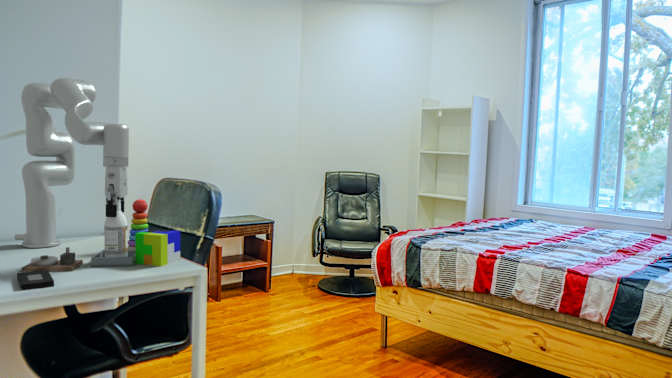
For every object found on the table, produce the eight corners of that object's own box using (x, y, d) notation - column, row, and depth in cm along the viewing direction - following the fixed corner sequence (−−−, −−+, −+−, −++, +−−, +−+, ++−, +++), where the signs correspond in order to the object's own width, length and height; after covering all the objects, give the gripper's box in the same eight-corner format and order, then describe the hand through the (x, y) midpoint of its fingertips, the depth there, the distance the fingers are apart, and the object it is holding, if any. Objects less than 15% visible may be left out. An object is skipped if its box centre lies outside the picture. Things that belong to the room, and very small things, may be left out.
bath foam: (127, 261, 163) (126, 200, 162) (103, 262, 161) (102, 200, 160) (128, 257, 170) (128, 198, 168) (105, 258, 168) (105, 198, 166)
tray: (91, 266, 158) (91, 257, 158) (102, 258, 170) (102, 250, 170) (132, 266, 161) (132, 257, 160) (140, 257, 173) (140, 249, 172)
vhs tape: (47, 276, 147) (47, 269, 147) (54, 288, 136) (54, 280, 136) (17, 279, 143) (17, 272, 143) (21, 292, 132) (21, 284, 131)
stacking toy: (142, 253, 180) (142, 201, 179) (122, 251, 182) (122, 200, 180) (154, 249, 188) (154, 199, 186) (135, 247, 189) (135, 198, 188)
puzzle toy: (180, 260, 171) (180, 231, 170) (160, 266, 161) (160, 235, 161) (155, 257, 174) (155, 228, 173) (135, 263, 165) (135, 233, 164)
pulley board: (21, 271, 150) (21, 251, 150) (35, 264, 160) (35, 244, 159) (72, 271, 152) (71, 250, 152) (82, 263, 162) (82, 244, 162)
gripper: (121, 164, 155) (120, 219, 157) (134, 161, 172) (133, 211, 174) (95, 163, 154) (95, 218, 155) (110, 160, 171) (110, 210, 172)
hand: (115, 214), depth 165 cm, fingers open, 9 cm apart
